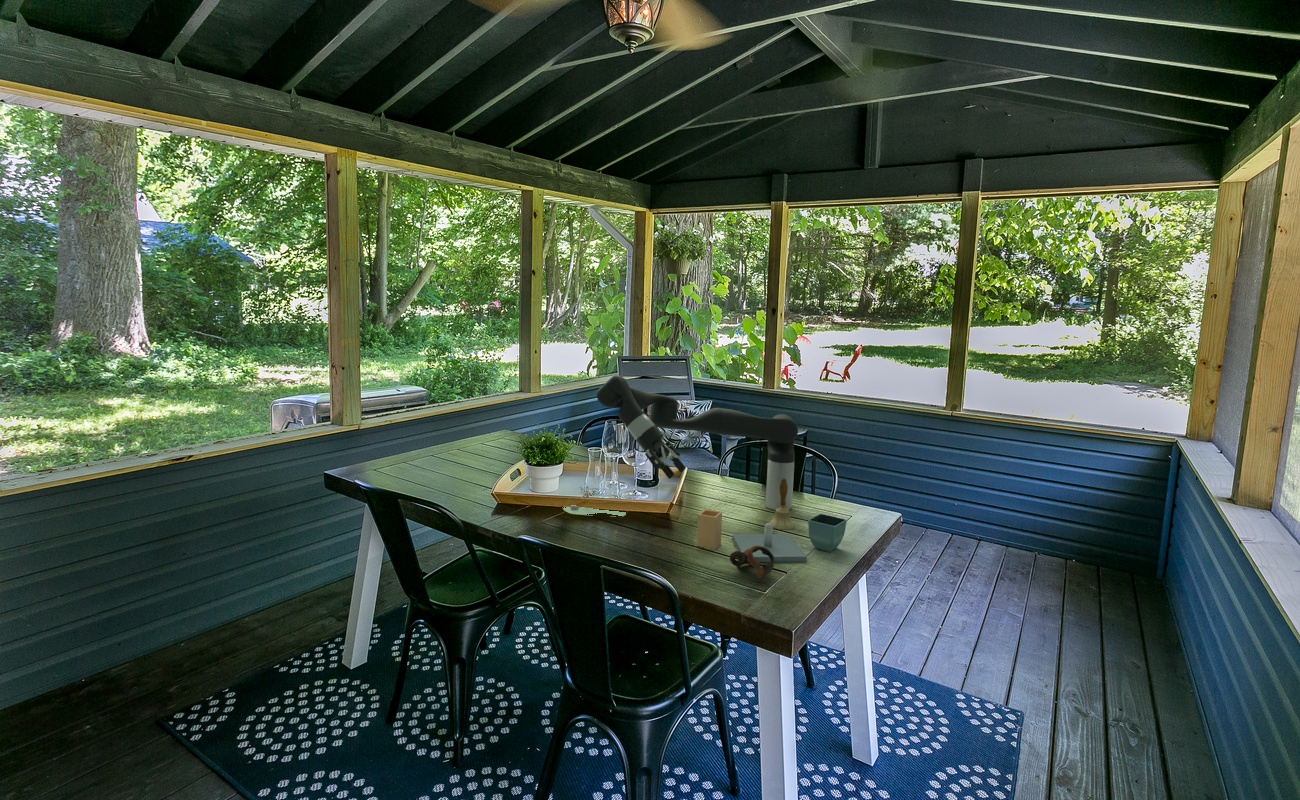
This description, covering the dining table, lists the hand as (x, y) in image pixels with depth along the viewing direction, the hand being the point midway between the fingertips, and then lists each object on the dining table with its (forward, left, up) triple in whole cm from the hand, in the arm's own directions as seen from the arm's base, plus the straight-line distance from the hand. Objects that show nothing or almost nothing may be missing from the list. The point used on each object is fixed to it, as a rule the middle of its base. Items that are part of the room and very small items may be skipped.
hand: (677, 473), depth 201 cm
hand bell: (-12, +36, -21) cm, 44 cm away
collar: (+5, +9, -21) cm, 23 cm away
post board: (+9, +26, -21) cm, 35 cm away
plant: (-31, -25, -22) cm, 45 cm away
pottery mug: (+25, +18, -21) cm, 37 cm away
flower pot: (+8, +44, -21) cm, 50 cm away
